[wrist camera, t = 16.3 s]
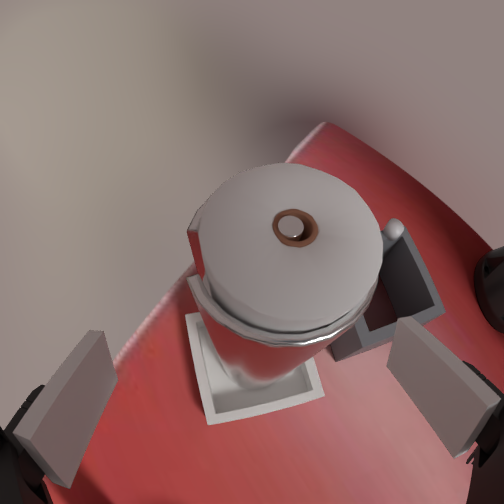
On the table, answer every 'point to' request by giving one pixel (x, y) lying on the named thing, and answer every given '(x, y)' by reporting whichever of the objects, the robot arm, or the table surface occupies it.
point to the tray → (239, 399)
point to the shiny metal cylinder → (281, 268)
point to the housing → (395, 293)
